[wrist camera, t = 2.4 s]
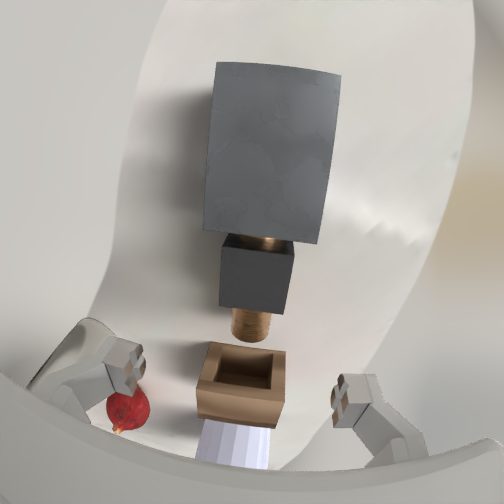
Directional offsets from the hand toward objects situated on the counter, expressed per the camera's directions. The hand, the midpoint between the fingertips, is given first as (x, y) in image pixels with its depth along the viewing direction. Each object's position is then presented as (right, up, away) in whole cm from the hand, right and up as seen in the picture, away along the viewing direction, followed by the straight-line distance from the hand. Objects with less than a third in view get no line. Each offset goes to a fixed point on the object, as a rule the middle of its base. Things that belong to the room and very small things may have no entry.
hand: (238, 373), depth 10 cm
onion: (-15, -13, +22) cm, 29 cm away
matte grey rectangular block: (+2, +12, +8) cm, 15 cm away
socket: (0, -7, +17) cm, 18 cm away
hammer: (+1, +7, +10) cm, 12 cm away
